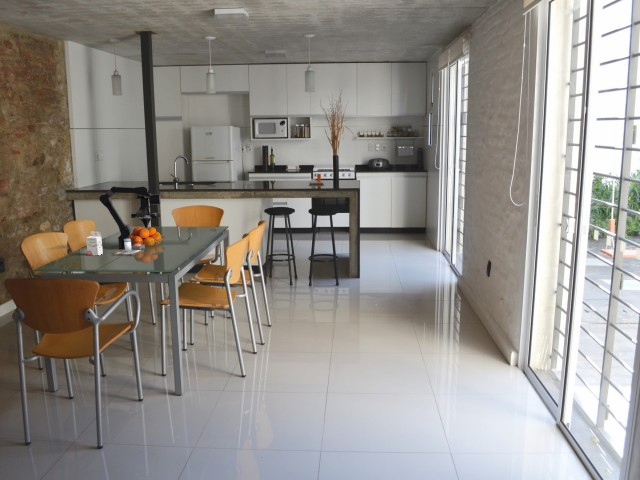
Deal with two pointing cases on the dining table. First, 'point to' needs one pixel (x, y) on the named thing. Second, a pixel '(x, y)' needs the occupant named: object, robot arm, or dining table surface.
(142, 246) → the button housing
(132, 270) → the dining table surface
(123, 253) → the picture board
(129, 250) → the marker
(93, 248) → the ink cartridge box
